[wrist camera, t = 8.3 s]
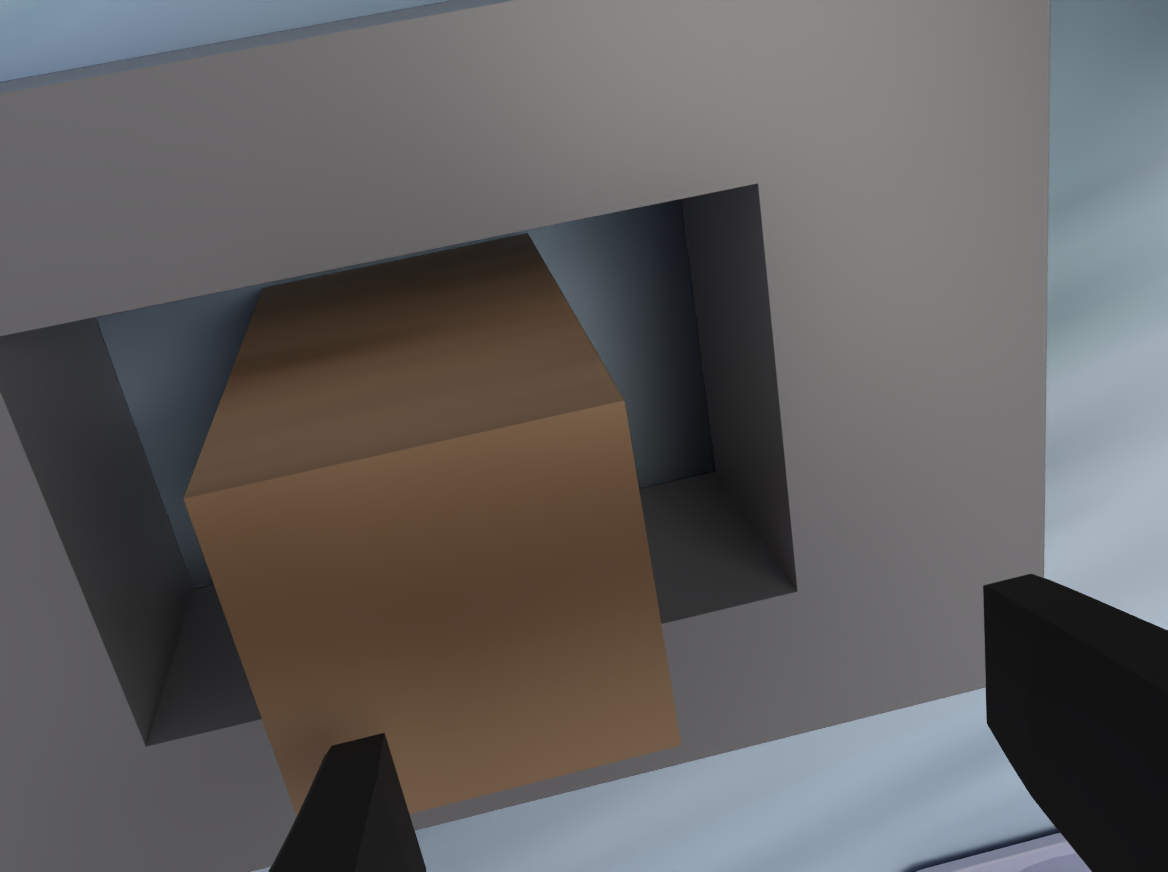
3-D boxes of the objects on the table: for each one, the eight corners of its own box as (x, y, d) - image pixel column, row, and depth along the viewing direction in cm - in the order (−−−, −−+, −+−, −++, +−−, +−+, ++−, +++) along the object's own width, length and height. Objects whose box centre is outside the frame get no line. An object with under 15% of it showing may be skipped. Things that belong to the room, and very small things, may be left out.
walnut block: (572, 468, 23) (681, 745, 15) (332, 523, 22) (305, 839, 14) (527, 233, 21) (625, 400, 12) (262, 287, 20) (183, 498, 12)
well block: (921, 545, 25) (1042, 673, 20) (21, 759, 23) (-67, 950, 18) (896, -81, 20) (1051, -98, 15) (-274, 131, 18) (-499, 184, 13)
